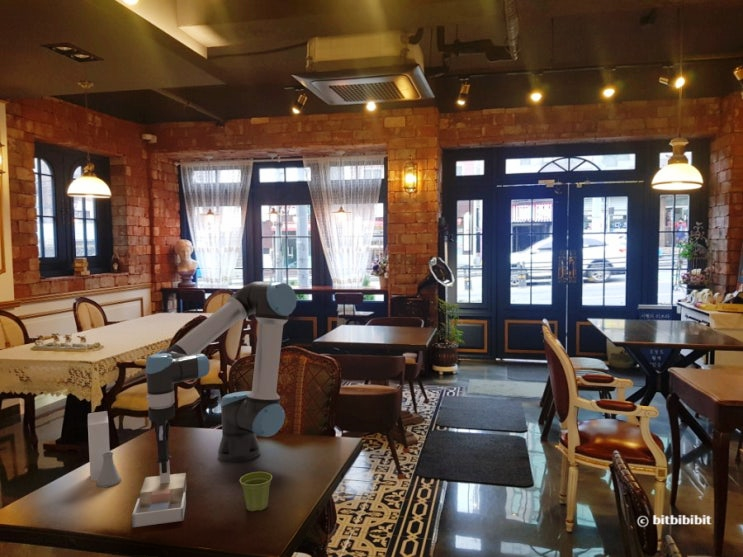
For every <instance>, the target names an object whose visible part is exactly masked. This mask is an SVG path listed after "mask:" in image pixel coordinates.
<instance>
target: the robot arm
mask: <svg viewBox="0 0 743 557" xmlns="http://www.w3.org/2000/svg"><path fill="white" fill-rule="evenodd" d="M296 307H297V295H296V291H295V290H294V289H293V288H292V286H290V285H289V284H288V283H286V282H282V281H261V280H260V281H259V280H258V281H253V282H251V283H248V284H246V285H244V286H243V287H242V288H240V289H238V290H237V291H235V292H234V293H233V294H232V295H230V296H229V297H228V298H226V303H225V304H223V305H222V306H221V307H220V308H218V309H217V310H216V311H215V312H213V313H212V314H211V315H210V316H208V317H207V318H206V319H204V320H203V321H202V322H201V323H199V324H198V325H197V326H196V327H195V328H194V327H193V328H194V329H192V330H191V331H189V332H188V333H186V335H184V336H183V337H182V338H180V339H179V340H178V341H177V342H175V343H174V344H173V345H171V346H170V347H169V348H168V349H163V350H159V351H156V353H154V354H150V355H148V356H147V358H146V360H145V374H146V390H147V395H146V396H145V399H146V400H147V406H148V409H147V412H148V421H151V422H156V423H155V427H154V431H155V439H156V440H155V441H156V444H157V456H158V460H156V464H159V465H158V466H159V476H160V483H167V482H170V475H171V471H170V469H171V467H170V459H172V455H170V440H169V438H170V427H171V423H170V422H168V421H170V420H172V419H174V418H175V416H176V408H175V405H174V403H175V401H176V400H175V384H177V383H183V382H187V381H192V380H198V379H201V378H204V377H206V376H208V375H209V373H210V368H211V367H210V366H211V365H210V364H211V363H210V361H209V357H208V356H206V354H204V353H200V352H202V351H203V350H204V349H205V348H207V347H208V346H209V345H210V344H211V343H213V342H214V341H215V340H216V339H218V338H219V337H220V336H221V335H223V334H224V332H226V331H227V330H228V329H230V328H231V327H232V326H234V324H236V323H238V321H239V320H246V318H248V317H249V316H251V315H253V314H255V315H254V316H255V317H254V318H255V319H256V322H258V328H257V340H256V348H255V349H256V350H255V355H254V356H255V358H254V368H253V374H252V375H253V378H252V385H251V391H249V390H244V391H237V392H232V393H228V394H225V395H224V396H222V397H221V401H220V402H221V403H220V407H221V409H220V410H221V429H222V434H221V435H222V437H221V439H220V443H219V447H218V450H217V458H218V459H219V460H220V461H222V462H227V463H241V462H246V461H250V460H254V459H255V458H257V457H258V456H259V455H260V454H261V447H260V444H259V443H260V442H259V441H258V438H257V437H263V438H265V437H267V438H269V437H272V436H274V435H275V434H277V433H278V431H279V430H281V428H282V427H283V424H284V422H285V418H286V412H285V410H284V408H283V406H281V404H280V403H281V402H280V401H281V400H280V399H281V396H280V395H279V394H278V393H277V388H278V378H279V371H280V370H279V369H280V362H281V361H280V360H281V349H282V340H283V330H284V325H285V324H286V323H287V322H288V321H289V315H291V314H292V313H293V312H294V310H295V309H296Z"/></svg>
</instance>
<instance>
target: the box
mask: <svg viewBox="0 0 743 557" xmlns="http://www.w3.org/2000/svg"><path fill="white" fill-rule="evenodd" d="M186 492H187V491H186ZM186 492H185V493H183V498H182V503H176V504H171V509H166V510H159V511H151V512H148V511H149V508H150V507H145V508H141V499H140V497H138V498H137V499H136V503H135V506H134V509H133V512H132V514H131V518H132V519H131V520H132V528H137V527H145V526H153V525H158V524H167V523H177V522H184V520H185V514H186V513H185V512H186V505H187V499H186V498H187V495H186V494H187V493H186Z"/></svg>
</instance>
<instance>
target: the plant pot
mask: <svg viewBox="0 0 743 557" xmlns="http://www.w3.org/2000/svg"><path fill="white" fill-rule="evenodd" d="M238 480H239V481H238V482H239V483H240V484H241V488H242V490H243V496H244V497H243V498H244V501H245V508H246V509H247V510H248V511H250V512H255V511H263V510H265V509H267V507H268V505H269V495H270V486H271V481H272V480H273V475H272V474H271V473H269V472H266V471H253V472H249V473H245V474H244V475H243V476H240V479H238Z"/></svg>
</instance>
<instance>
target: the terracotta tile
mask: <svg viewBox="0 0 743 557" xmlns="http://www.w3.org/2000/svg"><path fill="white" fill-rule="evenodd" d="M151 502H152V504H153V503H162V502H169V503H170V509H171V489H164V490H156V491H153V492H152V494H151Z"/></svg>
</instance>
